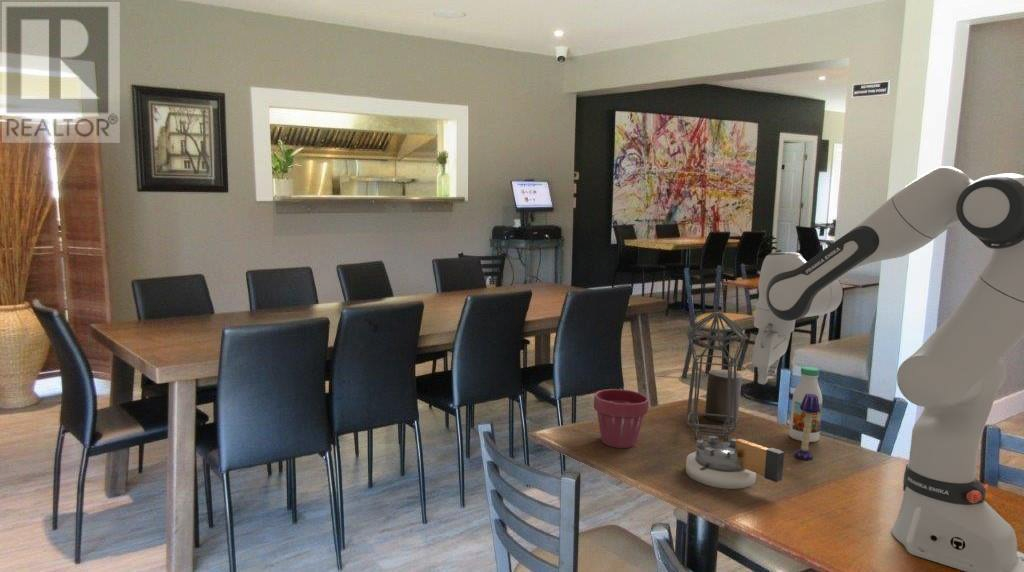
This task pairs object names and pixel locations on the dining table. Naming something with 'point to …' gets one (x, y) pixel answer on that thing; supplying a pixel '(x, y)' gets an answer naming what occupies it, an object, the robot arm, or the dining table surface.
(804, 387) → the milk bottle
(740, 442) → the lugged steel disc
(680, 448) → the dining table surface
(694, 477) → the white round plate
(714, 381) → the pillar candle
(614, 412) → the plant pot
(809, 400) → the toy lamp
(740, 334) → the geometric lantern
